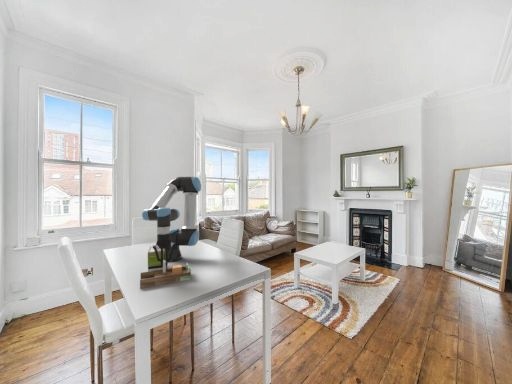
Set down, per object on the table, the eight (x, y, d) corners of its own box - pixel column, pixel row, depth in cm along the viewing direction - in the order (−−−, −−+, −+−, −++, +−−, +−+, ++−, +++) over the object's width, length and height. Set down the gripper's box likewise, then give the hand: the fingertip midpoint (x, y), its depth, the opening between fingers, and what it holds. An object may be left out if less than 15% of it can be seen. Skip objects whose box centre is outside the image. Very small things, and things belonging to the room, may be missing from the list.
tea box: (150, 267, 152) (149, 246, 152) (165, 265, 156) (165, 244, 156) (147, 275, 138) (147, 251, 138) (164, 272, 142) (164, 250, 142)
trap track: (140, 280, 130) (140, 269, 130) (187, 272, 142) (187, 262, 142) (140, 288, 120) (139, 276, 120) (190, 279, 132) (190, 268, 132)
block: (172, 272, 137) (172, 265, 137) (180, 270, 139) (180, 264, 139) (173, 274, 132) (173, 268, 132) (181, 273, 134) (181, 267, 134)
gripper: (152, 235, 126) (152, 275, 126) (176, 233, 132) (176, 272, 132) (151, 233, 132) (152, 271, 133) (174, 231, 138) (174, 267, 139)
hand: (164, 271), depth 133 cm, fingers closed
